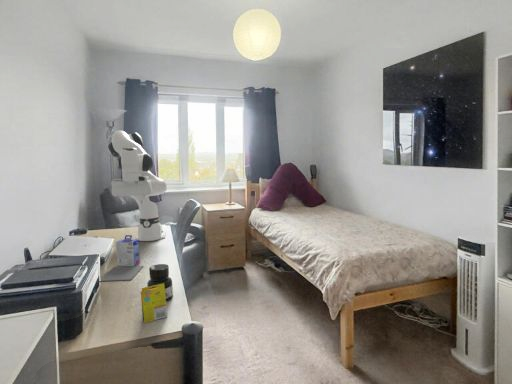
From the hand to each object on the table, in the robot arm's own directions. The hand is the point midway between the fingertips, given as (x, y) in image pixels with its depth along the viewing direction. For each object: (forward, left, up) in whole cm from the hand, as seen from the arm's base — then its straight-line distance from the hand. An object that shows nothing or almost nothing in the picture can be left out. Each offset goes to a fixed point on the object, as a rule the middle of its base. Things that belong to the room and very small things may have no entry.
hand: (133, 203), depth 167 cm
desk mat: (+28, +3, -28) cm, 40 cm away
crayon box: (+70, +29, -29) cm, 81 cm away
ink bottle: (+55, +27, -29) cm, 67 cm away
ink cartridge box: (+15, +1, -29) cm, 32 cm away
